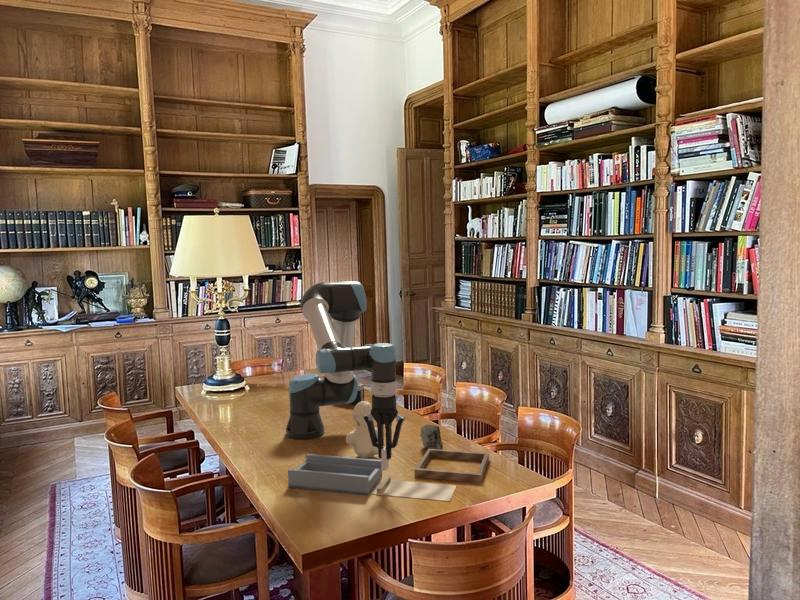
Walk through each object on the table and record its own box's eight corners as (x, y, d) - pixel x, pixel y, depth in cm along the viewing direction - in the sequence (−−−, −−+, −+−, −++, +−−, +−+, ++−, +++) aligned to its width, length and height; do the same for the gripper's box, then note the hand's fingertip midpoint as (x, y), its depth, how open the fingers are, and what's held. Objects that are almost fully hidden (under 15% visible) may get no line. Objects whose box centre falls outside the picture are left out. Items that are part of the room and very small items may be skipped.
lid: (369, 496, 187) (369, 489, 187) (380, 481, 198) (380, 474, 198) (450, 503, 181) (449, 496, 181) (456, 488, 192) (456, 481, 192)
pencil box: (288, 487, 193) (287, 470, 192) (307, 470, 207) (307, 453, 207) (367, 495, 186) (367, 477, 186) (382, 476, 201) (381, 460, 200)
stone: (446, 421, 225) (419, 419, 229) (440, 445, 219) (413, 442, 222) (449, 436, 232) (424, 433, 235) (444, 459, 226) (418, 456, 229)
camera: (369, 402, 294) (369, 381, 293) (359, 406, 287) (358, 384, 286) (345, 398, 301) (345, 378, 300) (335, 402, 294) (334, 381, 293)
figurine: (355, 464, 212) (354, 407, 210) (342, 456, 219) (341, 401, 218) (388, 456, 219) (388, 401, 217) (375, 449, 227) (374, 395, 225)
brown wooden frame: (414, 476, 200) (414, 469, 200) (428, 455, 220) (428, 448, 219) (480, 482, 195) (480, 475, 194) (488, 460, 214) (488, 453, 214)
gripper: (359, 396, 188) (361, 471, 190) (401, 398, 184) (402, 475, 187) (367, 390, 195) (368, 462, 197) (407, 392, 192) (408, 466, 194)
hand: (385, 468), depth 192 cm, fingers closed
